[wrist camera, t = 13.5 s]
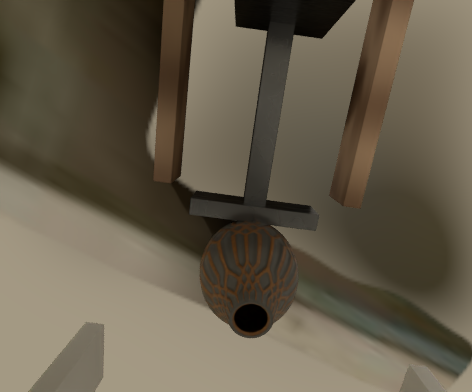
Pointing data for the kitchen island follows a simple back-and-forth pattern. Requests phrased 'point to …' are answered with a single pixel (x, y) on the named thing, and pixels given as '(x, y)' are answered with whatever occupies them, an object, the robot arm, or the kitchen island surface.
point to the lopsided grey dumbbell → (271, 109)
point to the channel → (359, 114)
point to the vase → (249, 276)
